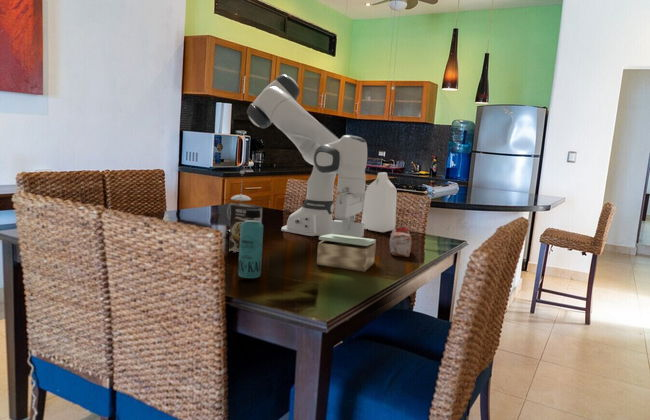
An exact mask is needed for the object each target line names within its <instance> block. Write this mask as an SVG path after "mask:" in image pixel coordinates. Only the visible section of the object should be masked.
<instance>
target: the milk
mask: <svg viewBox="0 0 650 420" xmlns="http://www.w3.org/2000/svg"><path fill="white" fill-rule="evenodd" d="M397 193H398V192H397V188H396V186H395V185H394V184H393V183H392V182H391V180H390V179H389V177H388V173H387V172H384V171H383V172H378V173H377V177H376V179H374V181H371V183H369V185H367V191H365V197H364V204H363V209H362V214H361V222H360V223H364V224H365V225H364V230H367V229H368V231H374V232H379V233H386V232H390V231H392V230H393V229H395V227H396V219H397V218H396V217H397V199H398V198H397Z"/></svg>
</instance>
